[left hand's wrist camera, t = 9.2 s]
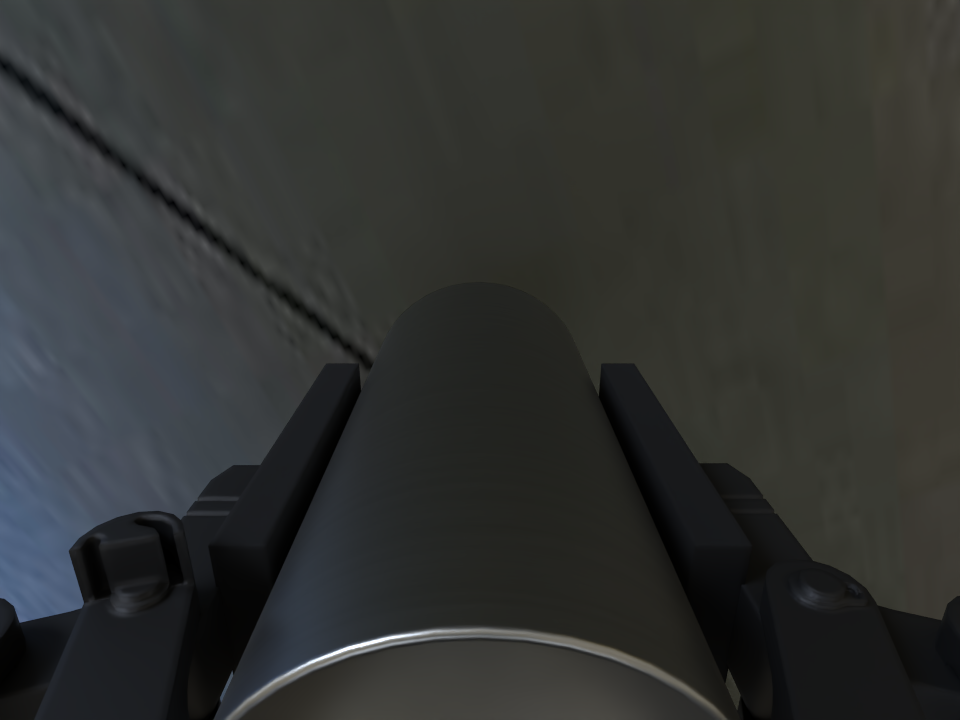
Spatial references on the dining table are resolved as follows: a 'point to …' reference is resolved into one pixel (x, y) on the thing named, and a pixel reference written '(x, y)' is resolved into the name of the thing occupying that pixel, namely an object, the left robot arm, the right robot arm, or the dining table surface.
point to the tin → (478, 546)
